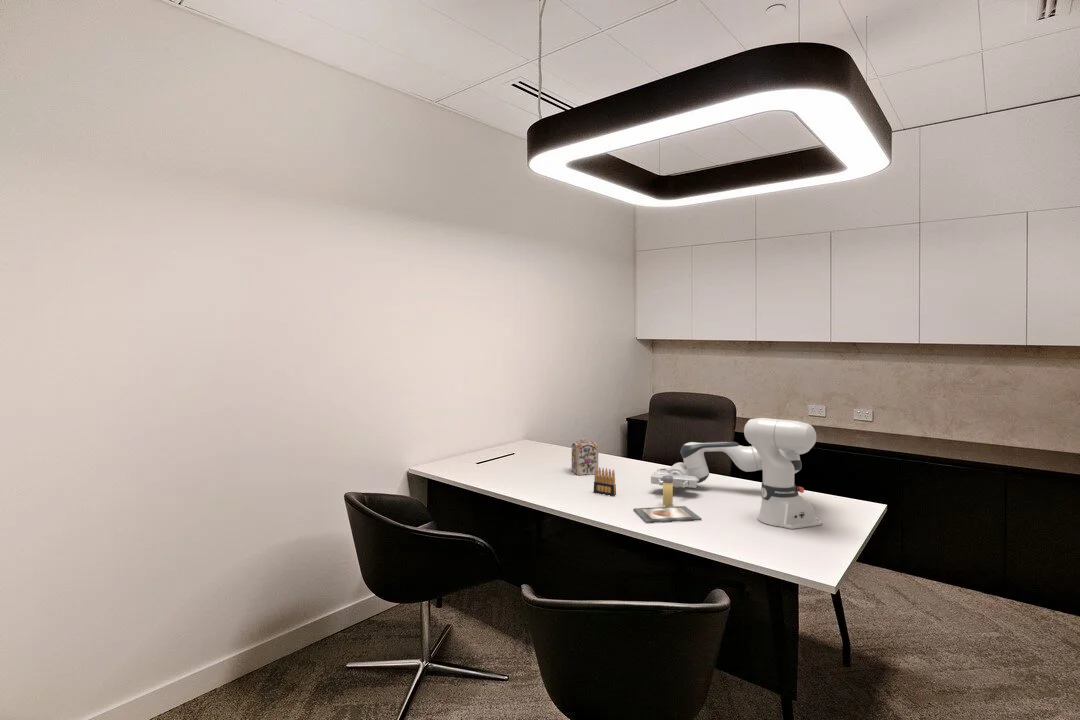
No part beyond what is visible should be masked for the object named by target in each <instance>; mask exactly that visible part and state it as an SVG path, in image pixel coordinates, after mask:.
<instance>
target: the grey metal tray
mask: <svg viewBox="0 0 1080 720" xmlns="http://www.w3.org/2000/svg"><path fill="white" fill-rule="evenodd" d="M632 509H633V512H634V513H635V514H636V515H637V516H638V517H639V518H640V519H642V521H643V522H644V523H645V524H655V523H654V522H662V523H673V522H672V521H681V522H695V521H694V520H701V521H702V518H701V517H700V516H699V515H697V513H695V512H694V511H692V510H691V509H690V508H688V507H687V506H686V505H679V506H677V505H675V506H659V507H658V506H657V507H655V506H654V507H637V508H635V507H634V508H632Z"/></svg>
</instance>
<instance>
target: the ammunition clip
mask: <svg viewBox="0 0 1080 720" xmlns="http://www.w3.org/2000/svg"><path fill="white" fill-rule="evenodd" d="M616 485H617V484H616V474H615V469H614V468H613V469H612V471H611V468H608V467H605V468H604V467H602V468H601V466H598V470H597V467H596V468H595V475H594V481H593V494H598V493H599V495H603V494H605V495H604V496H608V495H610V496H609V497H616V496H617V486H616ZM615 495H616V496H615Z"/></svg>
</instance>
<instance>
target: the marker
mask: <svg viewBox="0 0 1080 720" xmlns="http://www.w3.org/2000/svg"><path fill="white" fill-rule="evenodd" d="M673 488H674V487H673V476H668V475H666V476H663V485H662V505H663V506H664V505H665V506H664V507H673V506H674V502H673V501H674V500H673V499H674V498H673V496H674V495H673V492H674V489H673ZM672 505H673V506H672Z"/></svg>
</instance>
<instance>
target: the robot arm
mask: <svg viewBox="0 0 1080 720" xmlns="http://www.w3.org/2000/svg"><path fill="white" fill-rule="evenodd" d="M743 433H744V434H743V435H744V438H745V440H746V441H747V442H748V443H749V444H751V445H749V446H744V445H740V444H739V442H736V441H708V442H705V441H704V442H695V441H690V442H687V443H683V444H682V446H681V449H680V451H679V453H680V454H681V455H680V456H681V457H682V459H683V462H675V463H674V464H673V465H671V467H668V468H667V467H666V468H657V469H656V471H655V472H653V473H652V474H651V476H650V483H651V485H659V486H663V476H666V475H668V476H673V488H675V489H676V488H677V489H678V488H683V489H684V488H697V487H698V484H700V483H702V482H704V481H705V482H706V480H707V479H708V477H709V476H710V471H709V467H708V464H707V461H706V458H705V454H704V453H706V452H723V453H725V454H726V455H728V457H729V458H730V459H731V460H732V462H733V463H734V465H735V466H736V467H737V468H738V469H740V470H741V471H743V472H747V473H748V472H756V471H762V482H761V491H760V492H761V502H760V503H761V505H760V509H759V513H758V517H757V519H758V521H759V522H761V523H764V524H766V525H770V526H775V527H781V528H785V529H789V530H795V529H801V528H802V529H803V528H808V527H815V526H822V525H823V522H822V519H820V518H819V517H817V516H816V513H815V508H814V506H813V505H812V504H811V503H809V502H808V501H807V500H806V499H804V498H803V496H801V495H800V494H799V493H801V494H803V493H805V488H804V487H802V486H797V485H796V484H795V474H797V473H798V472H800V471H801V470H802V467H803V465H802V463H803V462H802V460H801V456H800V455H804V454H806V453H808V452H810V450H811V449H812V448H813V447H814V446H815V444H816V442H817V433H816V430H815V428H814V427H813V425H811V424H810V423H806V422H803V421H797V420H793V419H792V420H790V419H780V418H779V419H778V418H769V417H767V418H766V417H758V418H750V419H749V420H748V421H747V422H746V423H745V425H744V428H743Z"/></svg>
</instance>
